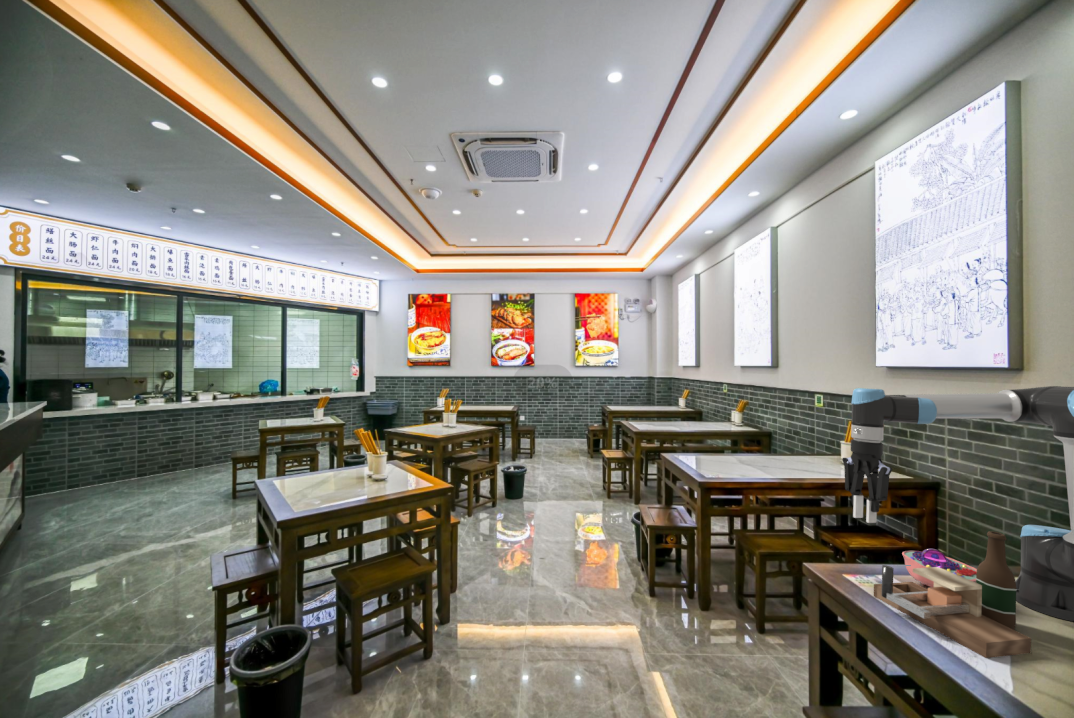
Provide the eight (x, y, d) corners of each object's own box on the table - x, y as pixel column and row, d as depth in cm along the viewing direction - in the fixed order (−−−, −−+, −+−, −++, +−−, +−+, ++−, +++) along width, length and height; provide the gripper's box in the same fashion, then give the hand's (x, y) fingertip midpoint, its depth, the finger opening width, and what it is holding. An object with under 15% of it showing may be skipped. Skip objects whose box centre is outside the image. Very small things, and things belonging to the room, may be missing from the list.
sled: (925, 591, 119) (926, 562, 120) (973, 614, 108) (974, 582, 109) (879, 594, 116) (880, 565, 116) (923, 618, 105) (924, 586, 105)
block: (941, 601, 115) (942, 586, 115) (961, 610, 110) (961, 595, 110) (927, 602, 114) (927, 587, 114) (946, 612, 109) (946, 596, 110)
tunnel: (937, 595, 118) (938, 567, 118) (981, 616, 108) (981, 585, 108) (912, 597, 116) (912, 568, 116) (954, 618, 106) (954, 587, 107)
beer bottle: (1005, 619, 114) (1007, 531, 114) (1024, 635, 106) (1026, 541, 107) (967, 611, 117) (969, 525, 117) (983, 626, 110) (985, 535, 110)
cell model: (926, 601, 121) (927, 562, 122) (891, 570, 140) (892, 537, 141) (1001, 614, 116) (1001, 573, 117) (953, 580, 135) (954, 545, 136)
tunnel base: (911, 593, 125) (911, 581, 126) (1030, 653, 99) (1031, 638, 100) (873, 596, 123) (873, 584, 123) (986, 658, 97) (986, 642, 97)
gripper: (831, 435, 130) (829, 510, 130) (884, 445, 114) (882, 531, 114) (851, 435, 132) (849, 510, 131) (906, 445, 116) (904, 530, 115)
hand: (864, 519), depth 123 cm, fingers open, 3 cm apart
